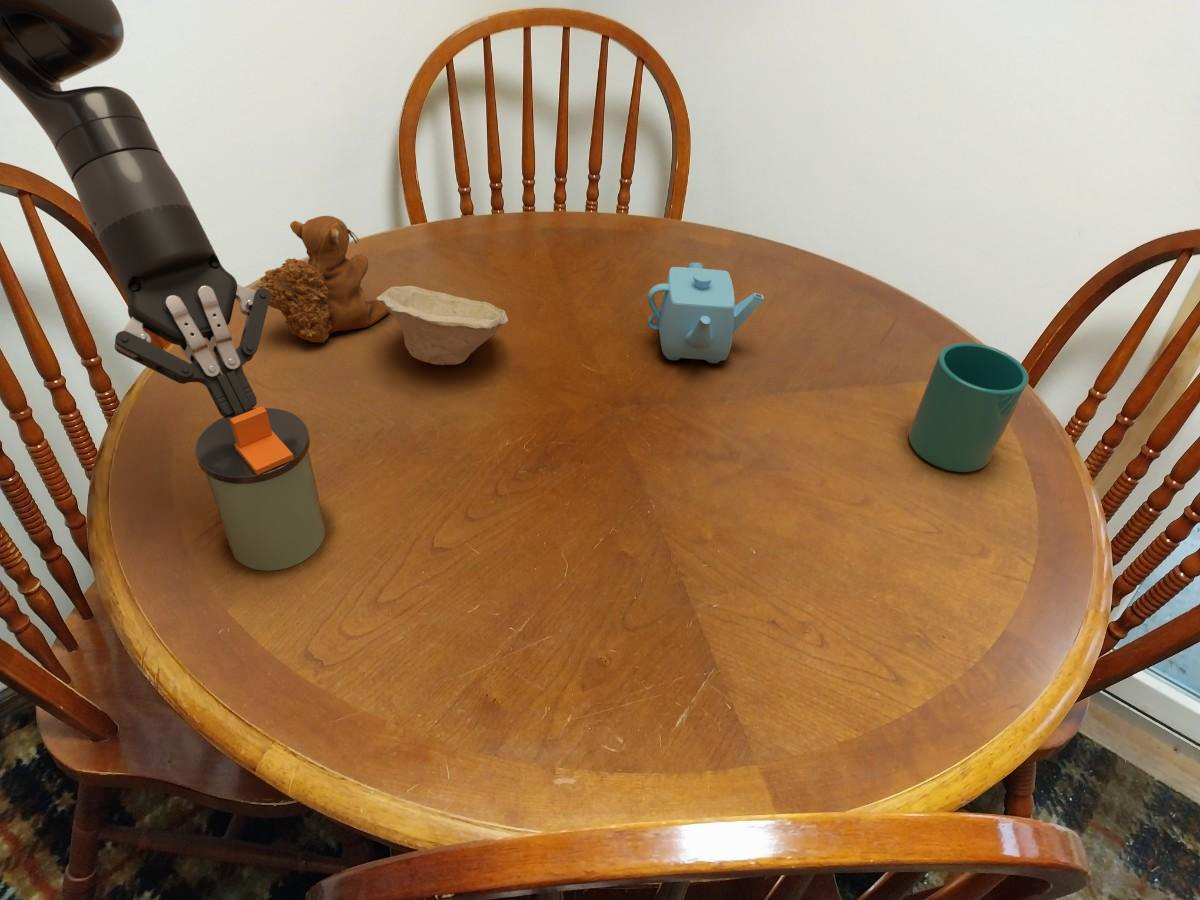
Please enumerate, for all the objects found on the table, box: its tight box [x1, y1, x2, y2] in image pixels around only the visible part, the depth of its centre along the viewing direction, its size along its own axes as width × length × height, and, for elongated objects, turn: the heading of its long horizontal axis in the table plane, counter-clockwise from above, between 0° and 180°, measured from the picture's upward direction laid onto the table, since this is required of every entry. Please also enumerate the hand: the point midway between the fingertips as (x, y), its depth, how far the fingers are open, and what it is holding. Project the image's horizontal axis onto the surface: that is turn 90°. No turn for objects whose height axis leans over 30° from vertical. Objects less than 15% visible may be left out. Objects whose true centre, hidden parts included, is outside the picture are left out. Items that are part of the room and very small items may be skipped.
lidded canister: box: [194, 407, 326, 572], centre depth 75 cm, size 9×9×12 cm
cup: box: [908, 342, 1030, 473], centre depth 93 cm, size 9×12×11 cm
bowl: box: [376, 285, 509, 366], centre depth 99 cm, size 15×14×10 cm
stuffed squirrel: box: [255, 215, 390, 344], centre depth 102 cm, size 10×14×13 cm
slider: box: [230, 405, 294, 475], centre depth 69 cm, size 4×3×3 cm
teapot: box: [647, 261, 765, 364], centre depth 104 cm, size 18×14×10 cm
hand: (244, 417), depth 70 cm, fingers closed
